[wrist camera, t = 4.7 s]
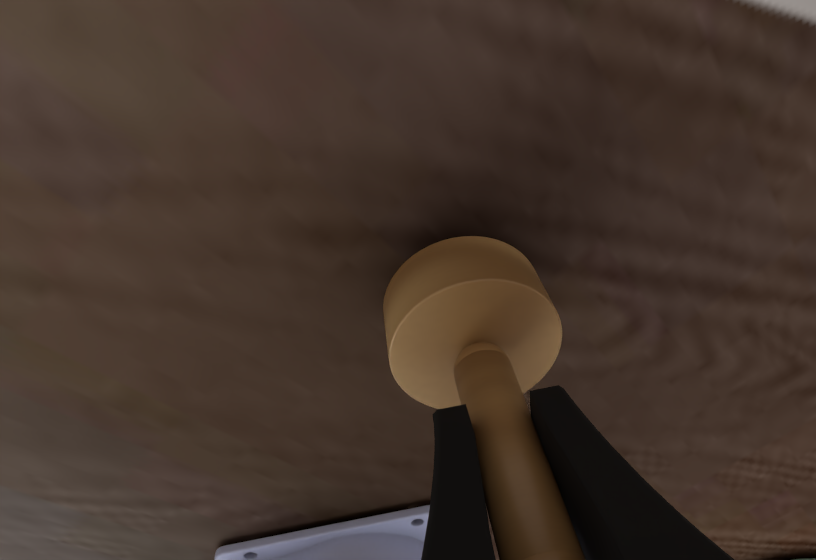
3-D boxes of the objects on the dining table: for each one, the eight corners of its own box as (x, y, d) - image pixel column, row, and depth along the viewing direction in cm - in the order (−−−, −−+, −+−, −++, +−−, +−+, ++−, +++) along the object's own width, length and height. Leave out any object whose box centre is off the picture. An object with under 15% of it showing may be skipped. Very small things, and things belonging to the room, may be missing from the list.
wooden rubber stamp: (397, 373, 17) (441, 695, 10) (367, 253, 14) (398, 577, 7) (540, 345, 17) (680, 647, 10) (536, 219, 14) (721, 513, 7)
